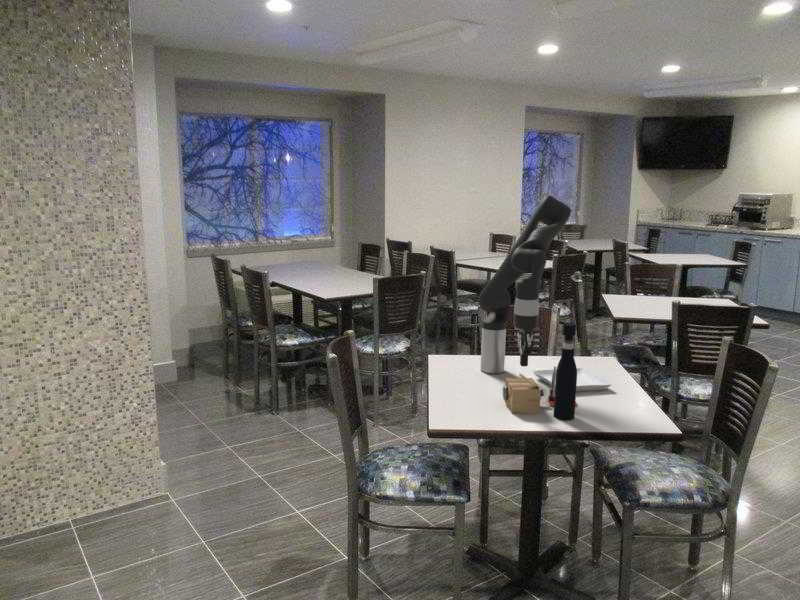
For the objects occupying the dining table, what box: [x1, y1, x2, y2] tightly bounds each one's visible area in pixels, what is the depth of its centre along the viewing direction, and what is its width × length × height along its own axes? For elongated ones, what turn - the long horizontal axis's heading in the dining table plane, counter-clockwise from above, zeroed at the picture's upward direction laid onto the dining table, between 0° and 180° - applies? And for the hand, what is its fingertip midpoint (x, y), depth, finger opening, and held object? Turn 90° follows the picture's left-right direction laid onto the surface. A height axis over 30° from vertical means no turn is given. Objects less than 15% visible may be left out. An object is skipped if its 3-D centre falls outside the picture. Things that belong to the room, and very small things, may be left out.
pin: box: [502, 385, 545, 400], centre depth 212 cm, size 13×5×5 cm, turn 92°
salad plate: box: [532, 367, 612, 393], centre depth 235 cm, size 21×21×3 cm
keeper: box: [518, 372, 535, 387], centre depth 205 cm, size 3×6×1 cm
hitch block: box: [503, 377, 542, 414], centre depth 210 cm, size 12×9×9 cm
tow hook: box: [547, 366, 578, 408], centre depth 213 cm, size 8×13×9 cm
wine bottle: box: [552, 322, 577, 421], centre depth 199 cm, size 6×6×30 cm
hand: (523, 365), depth 204 cm, fingers closed
